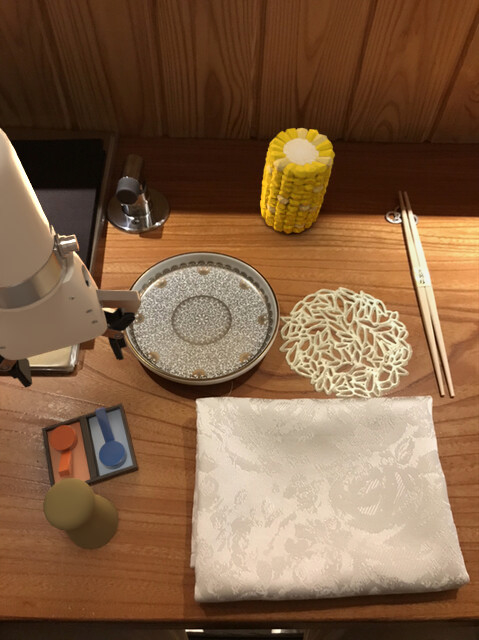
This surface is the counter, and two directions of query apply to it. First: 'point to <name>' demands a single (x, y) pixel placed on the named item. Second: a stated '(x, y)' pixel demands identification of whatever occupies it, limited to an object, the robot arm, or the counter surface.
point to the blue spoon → (110, 443)
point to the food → (295, 179)
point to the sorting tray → (91, 448)
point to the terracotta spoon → (64, 447)
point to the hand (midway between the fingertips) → (73, 361)
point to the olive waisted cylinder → (81, 513)
